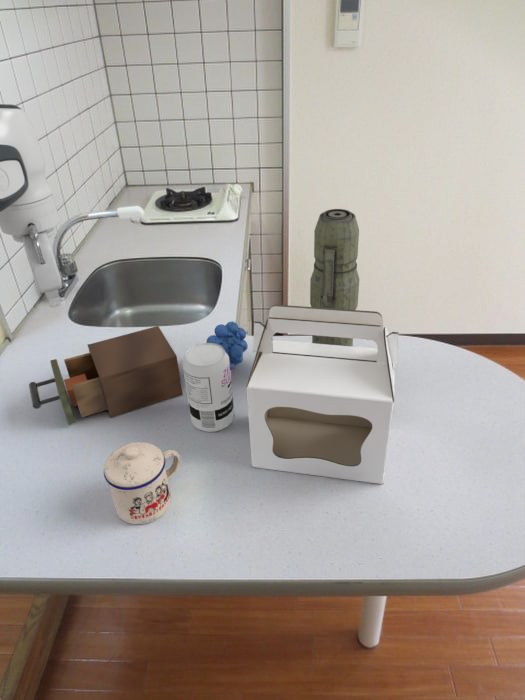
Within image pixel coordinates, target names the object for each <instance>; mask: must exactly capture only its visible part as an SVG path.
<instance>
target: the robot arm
mask: <svg viewBox="0 0 525 700" xmlns="http://www.w3.org/2000/svg"><path fill="white" fill-rule="evenodd" d="M45 166H46V165H45V160H44V155H43V152H42V149H41V146H40V142H39V139H38V136H37V133H36V131H35V128H34V126H33V124H32V121H31V119H30V118H29V116H28V114H27V113H26V111H25V110H24V109H23V108H22V107H19V106H18V105H15V104H6V103H5V104H4V103H3V104H2V103H0V230H1V232H2V233H3V234H5V235H9V236H11V237H12V239H13V241H14V242H17V243H20V244H21V243H22V244H23V246H24V247H23V248H24V251H25V254H26V258H27V261H28V264H29V267H30V270H31V274H32V277H33V280H34V283H35V286H36V289H37V291H38V292H39V293H40V294H44V295H45V297H46V300H47V302H48V305H49V307H50V308H57V307H59V306H62V305H61V304H62V301H61V298H60V294H59V290H61V289H62V288H63V281H62V278H61V275H60V271H59V267H58V264H57V260H56V256H55V254H54V251H53V247H52V245H51V241H50V239H49V238H51V237H53V235H54V234H55V227H56V226H58V224H59V223H60V221H61V220H60V215H59V212H58V207H57V205H56V201H55V197H54V194H53V189H52V187H51V185H50V184H49V182H48V180H47V177H46V173H45V172H46V171H45V169H46V168H45Z"/></svg>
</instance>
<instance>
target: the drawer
mask: <svg viewBox="0 0 525 700" xmlns="http://www.w3.org/2000/svg"><path fill="white" fill-rule="evenodd" d="M63 361H64V364H65V367H66V370H67V374H68V378H71V377H75V376H78V375H82V374H85V375H86V378H87V381H84V382H81V383H77V384H74V385H72V389H73V392H74V395H75V398H76V401H77V408H78V412H79V414H80V417H81V418H85V417H88V416H91V415H94V414H97V413H101V412H104V411H106V410H107V411H108V407H107V403H106V399H105V396H104V392H103V388H102V385H101V381H100V378H99V375H98V372H97V370H96V367H95V364H94V362H93V359H92V356H91V354H90V352H87V353H83V354H80V355H76V356H72V357H68V358H65V359H63ZM49 362H50V367H51V371H52V374H53V378H50V379H46V380H43V381H39V382H36V381H31V382H29V384H28V387H29V393H30V401H31V405H32V408H33V409H40V408H41V406H42V405H46V404H49V403H52V402H56V401H59V400H60V402H61V406H62V409H63V411H64V412H63V413H64V414H65V418H66V421H67V424H68V426H72V425H75V424H76V420H75V416H74V413H73V409H72V405H71V401H70V398H69V395H68V392H67V389H66V385H65V382H64V378H63V374H62V372H61V370H60V366H59V363H58V360H57V358H55V359H50V361H49ZM53 383H55V385H56V391H57V394H58V395H55V396H52V397H49V398H48V397H47V398H45V399H42V400H41V398H40V393H39V388H40V387H44V386H47V385H50V384H53Z"/></svg>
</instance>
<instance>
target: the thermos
mask: <svg viewBox="0 0 525 700" xmlns="http://www.w3.org/2000/svg"><path fill="white" fill-rule="evenodd" d="M313 235H314V238H313V241H314V242H313V243H314V244H313V246H314V247H313V257H314V262H313V271H312V274H311V275H310V276H311V277H310V281H309V283H310V285H309V288H310V289H309V291H310V292H309V296H310V297H309V302H310V303H309V305H310V307H317V308H332V309H346V310H357V308H358V306H359V305H358V304H359V291H360V276H359V273H358V263H357V260H358V255H359V254H358V253H359V242H360V241H359V239H360V238H359V236H360V228H359V224H358V220H357V216H356V215H355V213H353V212H352V211H350V210H348V209H343V208H331V209H327V210H325V211H323V212H322V213H320V214H319V216H318V219H317V221H316V224H315V228H314V234H313ZM353 342H354V338H342V337H329V336H317V335H311V343H315V344H328V345H340V346H352V347H353Z"/></svg>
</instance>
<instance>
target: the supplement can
mask: <svg viewBox="0 0 525 700" xmlns="http://www.w3.org/2000/svg"><path fill="white" fill-rule="evenodd" d="M182 371H183V377H184V385H185V390H186V396H187V404H188V411H189V416H190V422H191V424H192V425H193V427H194V428H196V429H198V430H199V431H200V430H201V431H203V432H207V433H214V432H219V431H222V430H224V429H226V428H227V427H229V426H230V425H231V424H232V423H233V421H234V419H235V417H236V416H235V407H234V396H233V395H234V394H233V385H232V375H231V374H232V373H231V371H230V361H229V356H228V355H227V354H226V352H225V350H224V349H223V347H222V346H220V345H218V344H214V343H206V342H201V343H198V344H195V345H193V346H191V347H189V348H188V349H187V350H186V352H185V353H184V357H183V360H182Z"/></svg>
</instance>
